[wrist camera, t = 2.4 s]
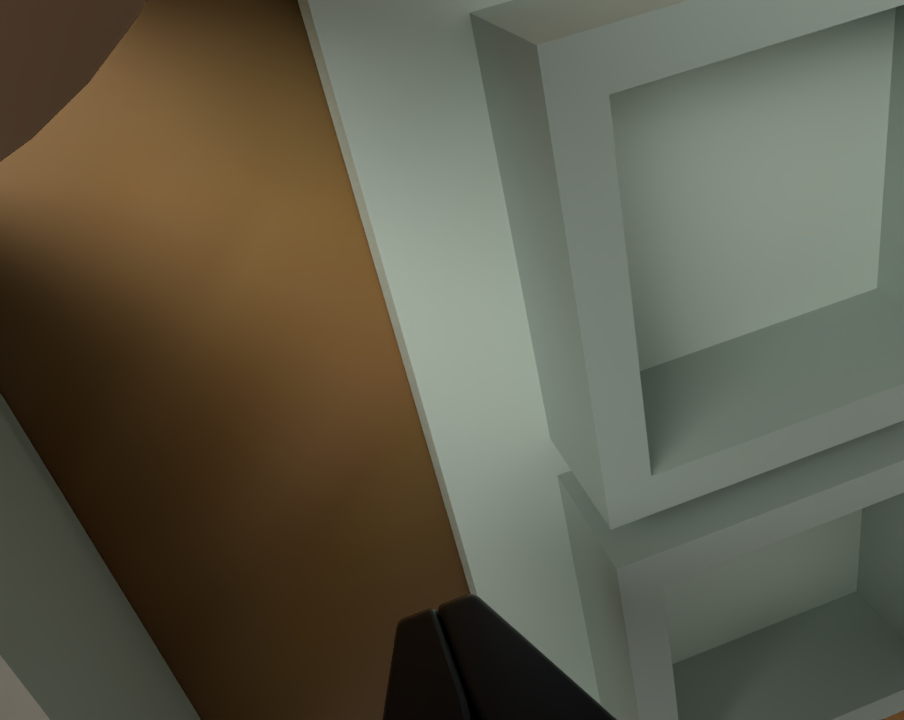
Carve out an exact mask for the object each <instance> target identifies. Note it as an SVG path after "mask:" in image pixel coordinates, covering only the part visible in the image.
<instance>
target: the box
mask: <svg viewBox="0 0 904 720" xmlns="http://www.w3.org/2000/svg"><path fill="white" fill-rule="evenodd" d="M0 655H1V657H2V658H3V659H4V661H5V662H6V663H7V664H8V666H9V667H10V668H11V670H12V671H13V672H14V674H15V675H16V676H17V677H18V679H19V680H20V681H21V683H22V684H23V685H24V686H25V688H26V689H27V690H28V692H29V693H30V694H31V696H32V697H33V698H34V699H35V701H36V702H37V703H38V705H39V706H40V707H41V708H42V710H43V711H44V712H45V714H46V715H47V716H48V718H49V719H50V720H201V719H200V717H199V716H198V714H197V712H196V711H195V709H194V707H193V706H192V704H191V702H190V701H189V699H188V698H187V696H186V694H185V693H184V691H183V689H182V688H181V686H180V685H179V683H178V681H177V680H176V678H175V676H174V675H173V673H172V672H171V670H170V668H169V667H168V665H167V663H166V662H165V660H164V659H163V657H162V655H161V654H160V652H159V650H158V649H157V647H156V645H155V644H154V642H153V641H152V639H151V637H150V636H149V634H148V632H147V631H146V629H145V628H144V626H143V624H142V623H141V621H140V619H139V618H138V616H137V615H136V613H135V611H134V610H133V608H132V606H131V605H130V603H129V601H128V600H127V598H126V597H125V595H124V593H123V592H122V590H121V588H120V587H119V585H118V584H117V582H116V580H115V579H114V577H113V575H112V574H111V572H110V571H109V569H108V567H107V566H106V564H105V562H104V561H103V559H102V558H101V556H100V554H99V553H98V551H97V549H96V548H95V546H94V544H93V543H92V541H91V540H90V538H89V536H88V535H87V533H86V531H85V530H84V528H83V527H82V525H81V523H80V522H79V520H78V518H77V517H76V515H75V514H74V512H73V510H72V509H71V507H70V505H69V504H68V502H67V500H66V499H65V497H64V496H63V494H62V492H61V491H60V489H59V487H58V486H57V484H56V483H55V481H54V479H53V478H52V476H51V474H50V473H49V471H48V470H47V468H46V466H45V465H44V463H43V461H42V460H41V458H40V457H39V455H38V453H37V452H36V450H35V448H34V447H33V445H32V443H31V442H30V440H29V439H28V437H27V435H26V434H25V432H24V430H23V429H22V427H21V426H20V424H19V422H18V421H17V419H16V417H15V416H14V414H13V413H12V411H11V409H10V408H9V406H8V404H7V403H6V401H5V399H4V398H3V396H2V395H1V393H0Z"/></svg>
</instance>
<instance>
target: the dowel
mask: <svg viewBox="0 0 904 720" xmlns="http://www.w3.org/2000/svg"><path fill="white" fill-rule="evenodd" d="M145 2H146V0H0V161H2V160H3V159H4V158H6V157H7V156H9V155H10V154H11V153H13V152H14V151H15V150H17V149H18V148H20V147H21V146H22V145H24V144H25V143H26V142H28V141H29V140H31V139H32V138H33V137H34V136H35V135H36V134H37V133H38V132H39V131H40V130H41V129H42V128H43V127H44V126H45V125H46V124H47V123H48V122H49V121H50V120H51V119H52V118H53V117H54V116H55V115H56V114H57V113H58V112H59V111H60V110H61V109H62V108H63V107H64V106H65V105H66V104H67V103H68V102H69V101H70V100H71V99H73V98H74V97H75V96H76V95H77V94H78V93H79V92H80V91H81V90H82V89H83V88H84V87H85V86H86V85H87V84H88V83H89V81H90V80H91V79H92V77H93V76H94V75H95V73H96V72H97V71H98V69H99V68H100V67H101V65H102V64H103V63H104V61H105V60H106V59H107V57H108V56H109V55H110V53H111V52H112V51H113V49H114V48H115V47H116V45H117V44H118V43H119V41H120V40H121V39H122V37H123V36H124V34H125V33H126V32H127V30H128V29H129V28H130V26H131V25H132V24H133V22H134V21H135V20H136V18H137V17H138V15H139V13H140V12H141V10H142V8H143V6H144V4H145Z"/></svg>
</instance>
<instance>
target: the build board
mask: <svg viewBox="0 0 904 720" xmlns="http://www.w3.org/2000/svg"><path fill="white" fill-rule="evenodd" d="M298 4H299V7H300V11H301V14H302V18H303V21H304V24H305V28H306V31H307V35H308V38H309V42H310V45H311V48H312V52H313V55H314V59H315V62H316V66H317V69H318V72H319V76H320V79H321V83H322V86H323V90H324V93H325V96H326V100H327V103H328V107H329V110H330V114H331V117H332V120H333V124H334V127H335V131H336V134H337V138H338V141H339V144H340V148H341V151H342V155H343V158H344V162H345V165H346V168H347V172H348V175H349V179H350V182H351V186H352V189H353V193H354V196H355V199H356V203H357V206H358V210H359V213H360V217H361V220H362V223H363V227H364V230H365V234H366V237H367V241H368V244H369V247H370V251H371V254H372V258H373V261H374V265H375V268H376V271H377V275H378V278H379V282H380V285H381V289H382V292H383V295H384V299H385V302H386V306H387V309H388V313H389V316H390V319H391V323H392V326H393V330H394V333H395V337H396V340H397V343H398V347H399V350H400V354H401V357H402V361H403V364H404V367H405V371H406V374H407V378H408V381H409V385H410V388H411V391H412V395H413V398H414V402H415V405H416V409H417V412H418V415H419V419H420V422H421V426H422V429H423V433H424V436H425V439H426V443H427V446H428V450H429V453H430V457H431V460H432V464H433V467H434V470H435V474H436V477H437V481H438V484H439V488H440V491H441V494H442V498H443V501H444V505H445V508H446V512H447V515H448V518H449V522H450V525H451V529H452V532H453V536H454V539H455V542H456V546H457V549H458V553H459V556H460V560H461V563H462V566H463V570H464V573H465V577H466V580H467V584H468V587H469V590H470V594H475V595H477V596H478V597H480V598H481V599H482V600H483V601H484V602H485V603H487V604H488V605H489V606H490V607H491V608H492V609H493V610H494V611H496V612H497V613H498V614H499V615H500V616H501V617H502V618H503V619H505V620H506V621H507V622H508V623H509V624H510V625H511V626H512V627H514V628H515V629H516V630H517V631H518V632H519V633H520V634H521V635H523V636H524V637H525V638H526V639H527V640H528V641H529V642H530V643H532V644H533V645H534V646H535V647H536V648H537V649H538V650H539V651H541V652H542V653H543V654H544V655H545V656H546V657H547V658H548V659H550V660H551V661H552V662H553V663H554V664H555V665H556V666H557V667H558V668H560V669H561V670H562V671H563V672H564V673H565V674H566V675H567V676H569V677H570V678H571V679H572V680H573V681H574V682H575V683H576V684H578V685H579V686H580V687H581V688H582V689H583V690H584V691H585V692H587V693H588V694H589V695H590V696H591V697H592V698H593V699H594V700H596V701H597V702H598V703H599V704H600V705H601V706H602V707H603V708H605V709H606V710H607V711H608V712H609V713H610V714H611V715H612V716H614V717H615V718H616V719H617V720H882V719H884V718H887V717H889V716H891V715H894V714H896V713H899V712H901V711H903V710H904V0H298Z"/></svg>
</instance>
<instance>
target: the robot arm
mask: <svg viewBox="0 0 904 720" xmlns="http://www.w3.org/2000/svg"><path fill="white" fill-rule="evenodd" d="M438 613H439V615H438ZM383 720H617V719H616V718H615V717H614V716H612V715H611V714H610V713H609V712H608V711H607V710H606V709H605V708H603V707H602V706H601V705H600V704H599V703H598V702H597V701H596V700H594V699H593V698H592V697H591V696H590V695H589V694H588V693H587V692H585V691H584V690H583V689H582V688H581V687H580V686H579V685H578V684H576V683H575V682H574V681H573V680H572V679H571V678H570V677H569V676H567V675H566V674H565V673H564V672H563V671H562V670H561V669H560V668H558V667H557V666H556V665H555V664H554V663H553V662H552V661H551V660H550V659H548V658H547V657H546V656H545V655H544V654H543V653H542V652H541V651H539V650H538V649H537V648H536V647H535V646H534V645H533V644H532V643H530V642H529V641H528V640H527V639H526V638H525V637H524V636H523V635H521V634H520V633H519V632H518V631H517V630H516V629H515V628H514V627H512V626H511V625H510V624H509V623H508V622H507V621H506V620H505V619H503V618H502V617H501V616H500V615H499V614H498V613H497V612H496V611H494V610H493V609H492V608H491V607H490V606H489V605H488V604H487V603H485V602H484V601H483V600H482V599H481V598H480V597H478V596H477V595H475V594H467V595H464V596H462V597H459V598H456V599H454V600H451V601H448V602H445V603H443V604H441V605H440V607H439V609H438V612H437V611H436V610H435V609H427V610H424V611H421V612H419V613H416V614H413V615H410V616H408V617H405V618H403V619H401V620H400V621H399V623H398V625H397V628H396V634H395V641H394V647H393V654H392V661H391V667H390V674H389V681H388V687H387V694H386V701H385V707H384V714H383Z"/></svg>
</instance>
